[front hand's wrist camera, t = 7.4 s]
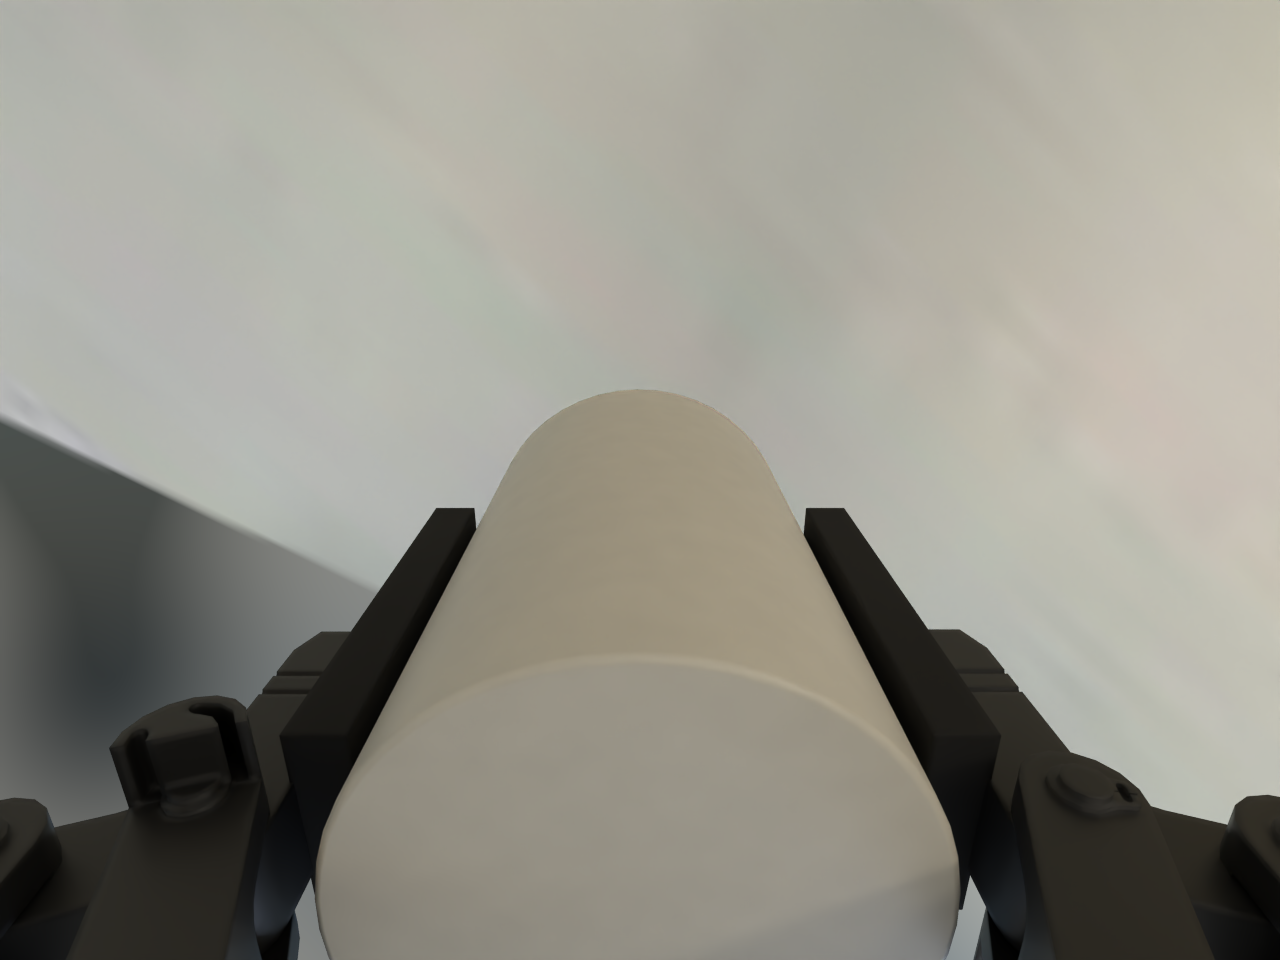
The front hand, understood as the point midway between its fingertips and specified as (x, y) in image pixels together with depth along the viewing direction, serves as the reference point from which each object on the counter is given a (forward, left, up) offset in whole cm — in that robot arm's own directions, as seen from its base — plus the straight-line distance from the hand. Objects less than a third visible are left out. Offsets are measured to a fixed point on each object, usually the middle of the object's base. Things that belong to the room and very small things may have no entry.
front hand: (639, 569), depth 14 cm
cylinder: (0, 0, -2) cm, 2 cm away
